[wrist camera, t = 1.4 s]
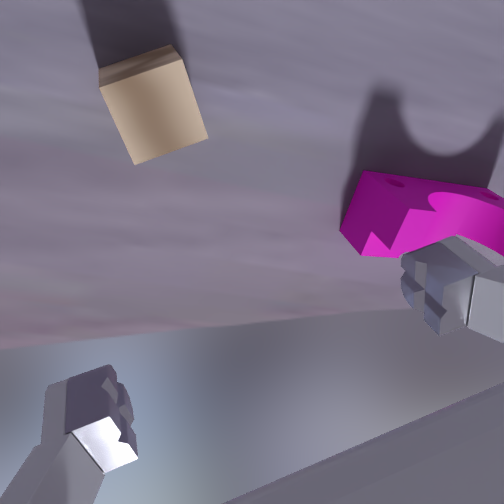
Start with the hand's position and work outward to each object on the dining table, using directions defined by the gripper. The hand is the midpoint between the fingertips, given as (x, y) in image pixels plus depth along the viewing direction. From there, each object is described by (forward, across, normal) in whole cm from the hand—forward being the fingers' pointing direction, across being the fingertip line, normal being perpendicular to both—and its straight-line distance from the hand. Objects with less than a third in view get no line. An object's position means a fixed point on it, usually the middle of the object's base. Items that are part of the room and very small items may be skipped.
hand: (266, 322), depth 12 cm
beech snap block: (+24, 0, 0) cm, 24 cm away
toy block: (+24, -21, +17) cm, 36 cm away
